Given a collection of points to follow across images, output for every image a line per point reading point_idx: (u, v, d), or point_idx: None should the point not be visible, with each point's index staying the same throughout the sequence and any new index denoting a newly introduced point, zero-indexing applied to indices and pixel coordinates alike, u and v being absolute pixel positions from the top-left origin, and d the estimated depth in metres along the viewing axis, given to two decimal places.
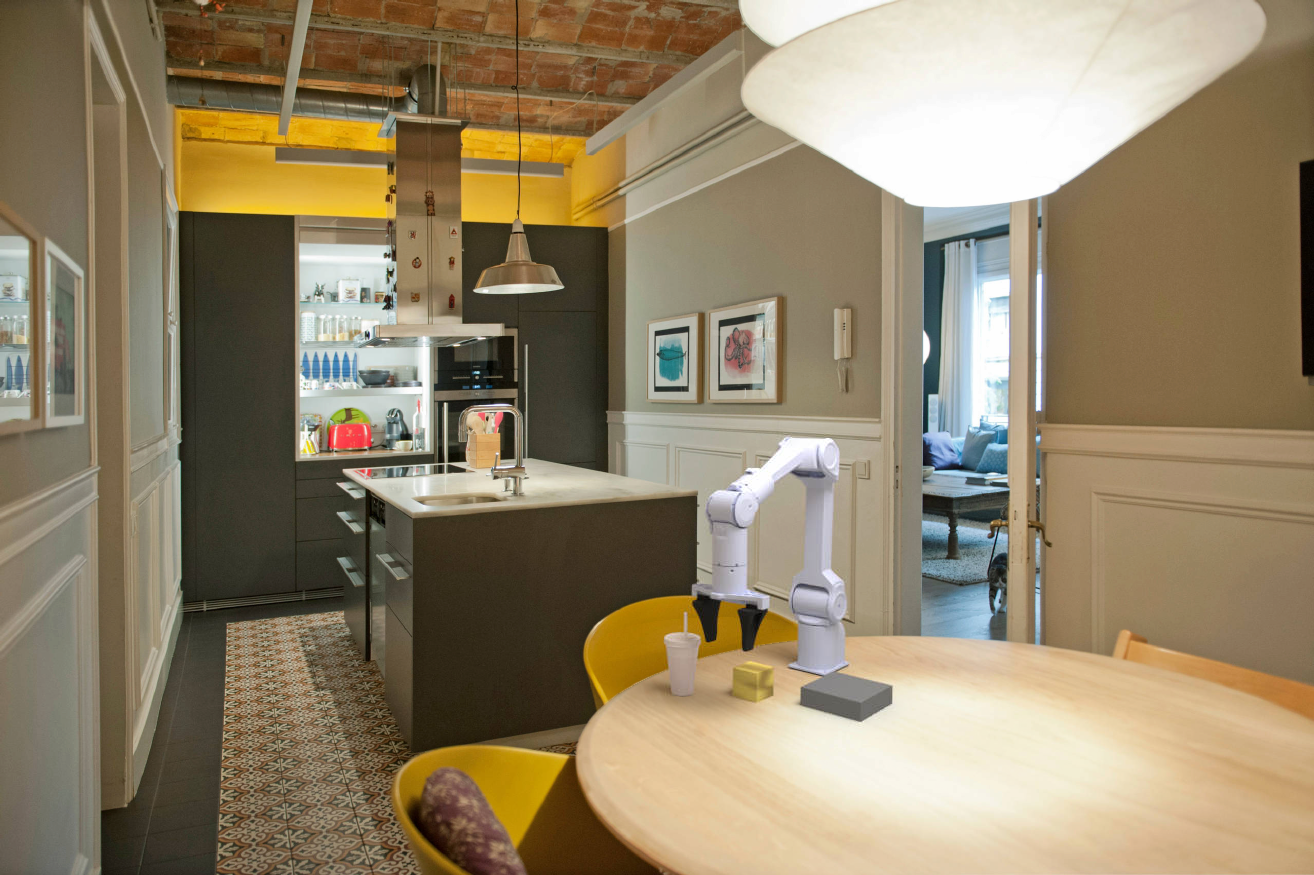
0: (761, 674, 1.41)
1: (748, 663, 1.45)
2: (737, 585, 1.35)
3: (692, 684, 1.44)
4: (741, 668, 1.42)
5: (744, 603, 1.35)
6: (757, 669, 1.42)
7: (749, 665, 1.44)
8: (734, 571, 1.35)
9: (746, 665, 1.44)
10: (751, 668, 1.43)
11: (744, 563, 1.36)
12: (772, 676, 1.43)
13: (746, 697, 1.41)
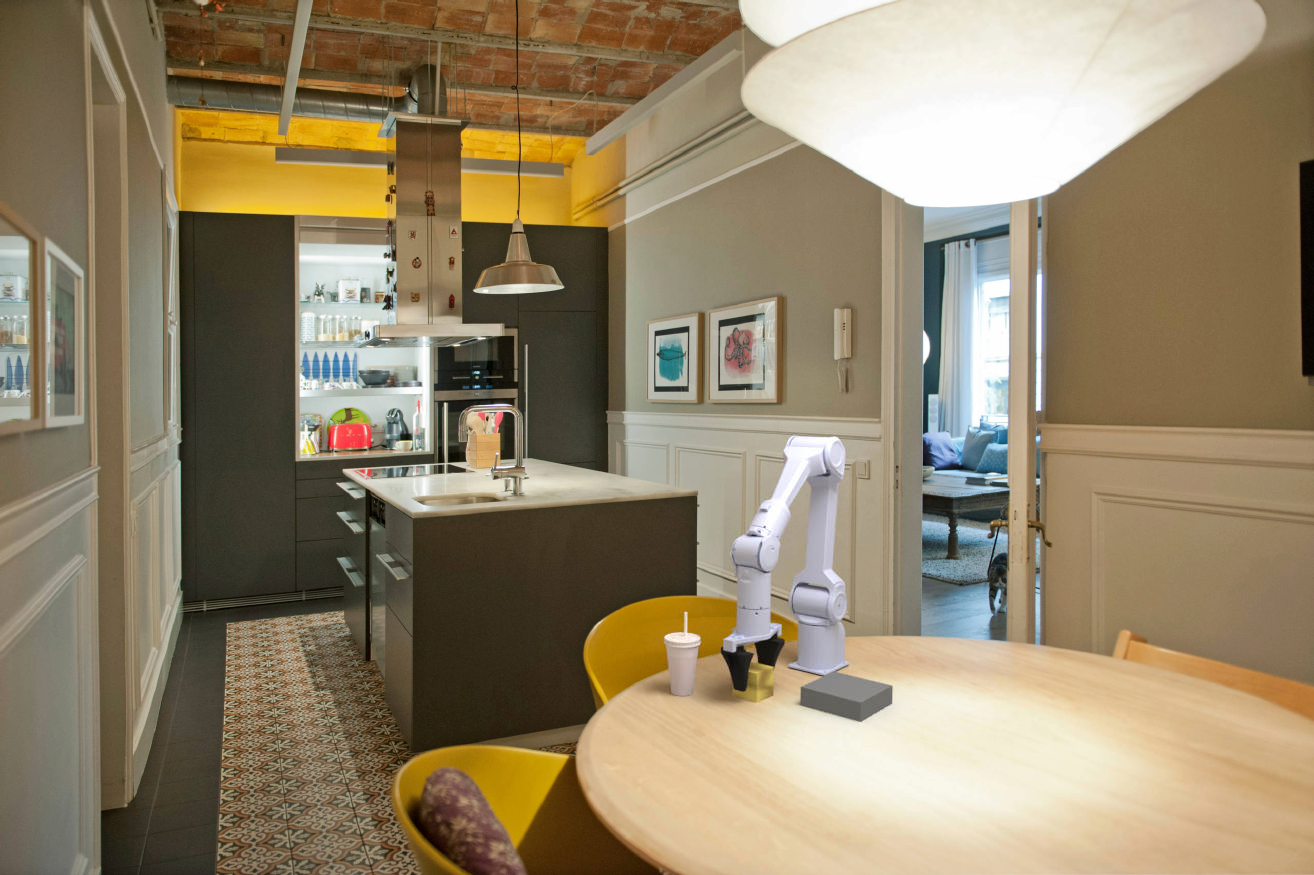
0: (761, 674, 1.41)
1: None
2: (738, 625, 1.42)
3: (692, 684, 1.44)
4: None
5: None
6: (757, 669, 1.42)
7: None
8: (737, 610, 1.42)
9: None
10: (751, 668, 1.43)
11: (768, 606, 1.41)
12: (772, 676, 1.43)
13: (746, 697, 1.41)
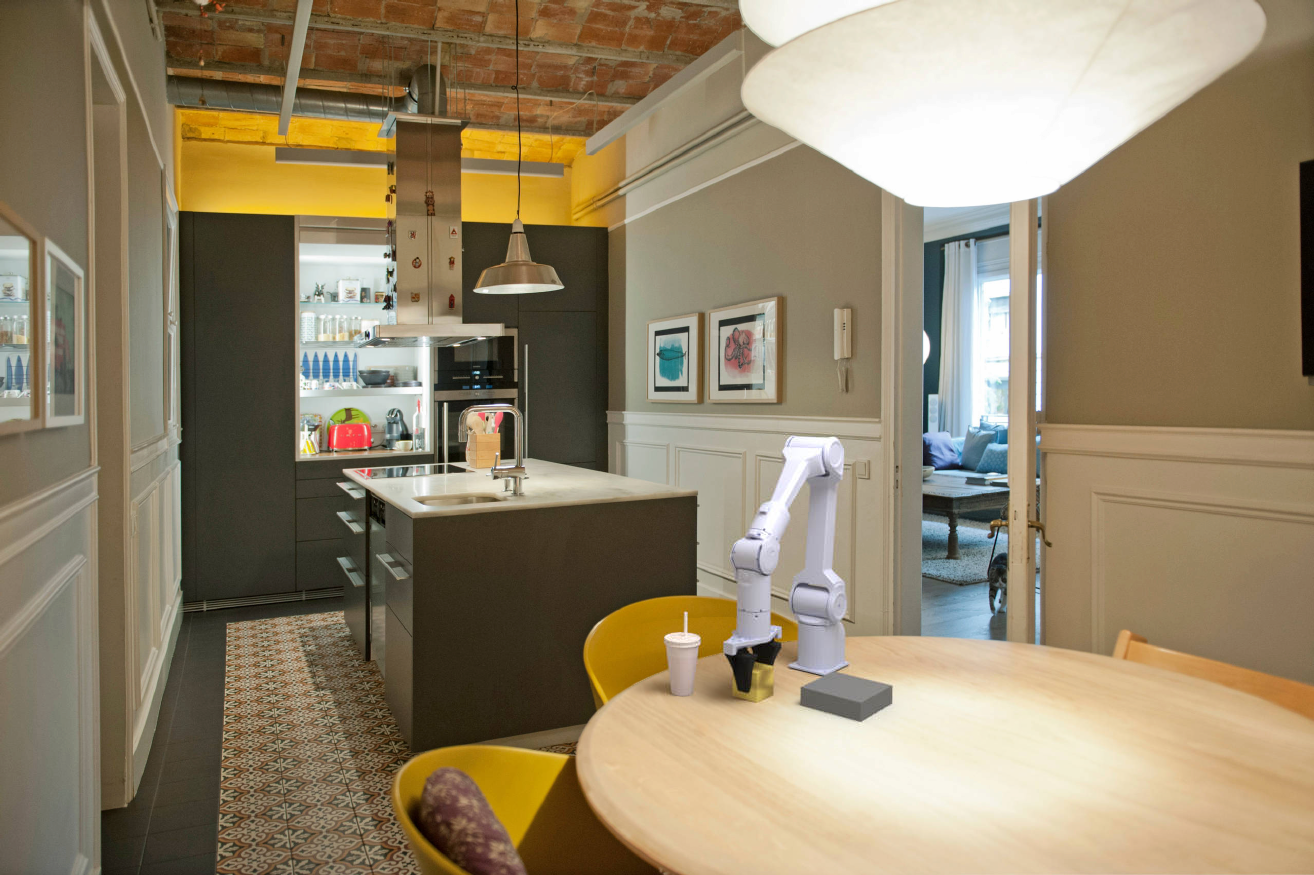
0: (761, 674, 1.41)
1: None
2: (738, 628, 1.42)
3: (692, 684, 1.44)
4: None
5: None
6: (757, 668, 1.42)
7: None
8: (737, 613, 1.42)
9: None
10: None
11: (768, 609, 1.41)
12: (772, 675, 1.43)
13: (746, 696, 1.41)
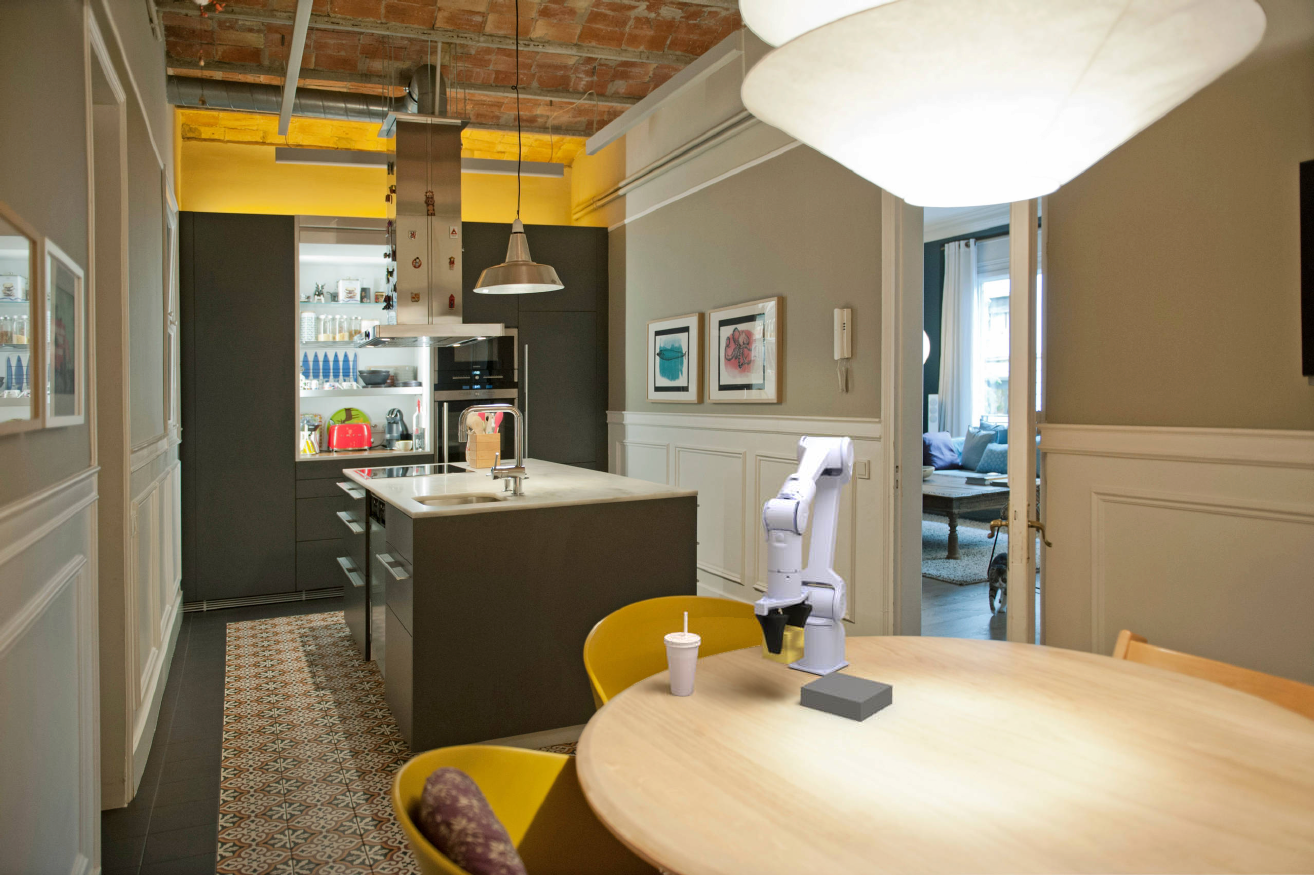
0: (791, 635, 1.39)
1: None
2: (769, 589, 1.40)
3: (692, 684, 1.44)
4: None
5: None
6: (788, 630, 1.41)
7: None
8: (768, 574, 1.41)
9: None
10: None
11: (801, 569, 1.40)
12: (803, 637, 1.42)
13: (777, 658, 1.40)
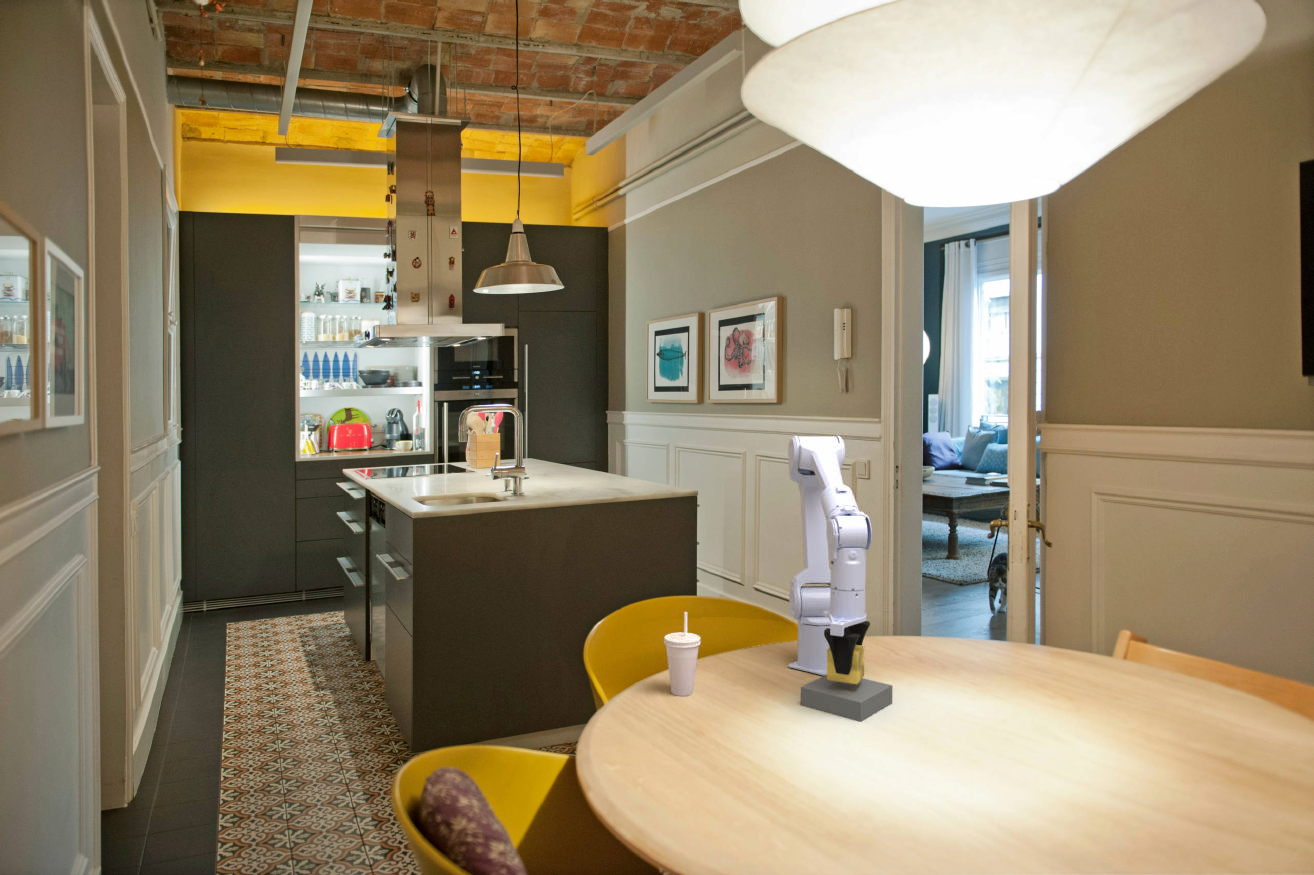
0: (859, 654, 1.37)
1: None
2: (836, 608, 1.37)
3: (692, 684, 1.44)
4: None
5: None
6: None
7: None
8: (834, 593, 1.37)
9: None
10: None
11: None
12: (863, 655, 1.40)
13: (844, 679, 1.37)
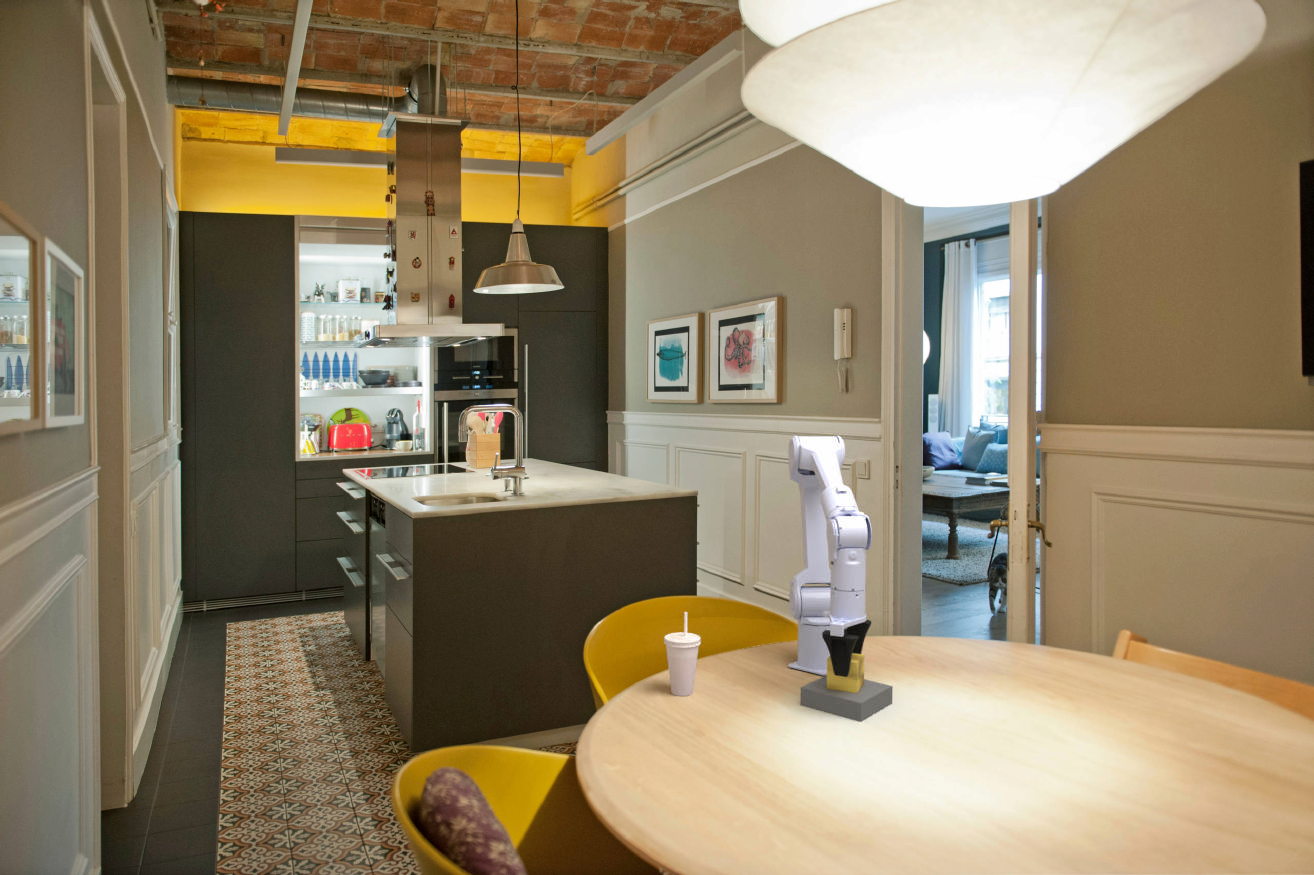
0: (859, 663, 1.37)
1: None
2: (836, 608, 1.37)
3: (692, 684, 1.44)
4: None
5: None
6: (852, 658, 1.38)
7: None
8: (834, 594, 1.37)
9: None
10: None
11: None
12: (863, 664, 1.40)
13: (844, 688, 1.37)
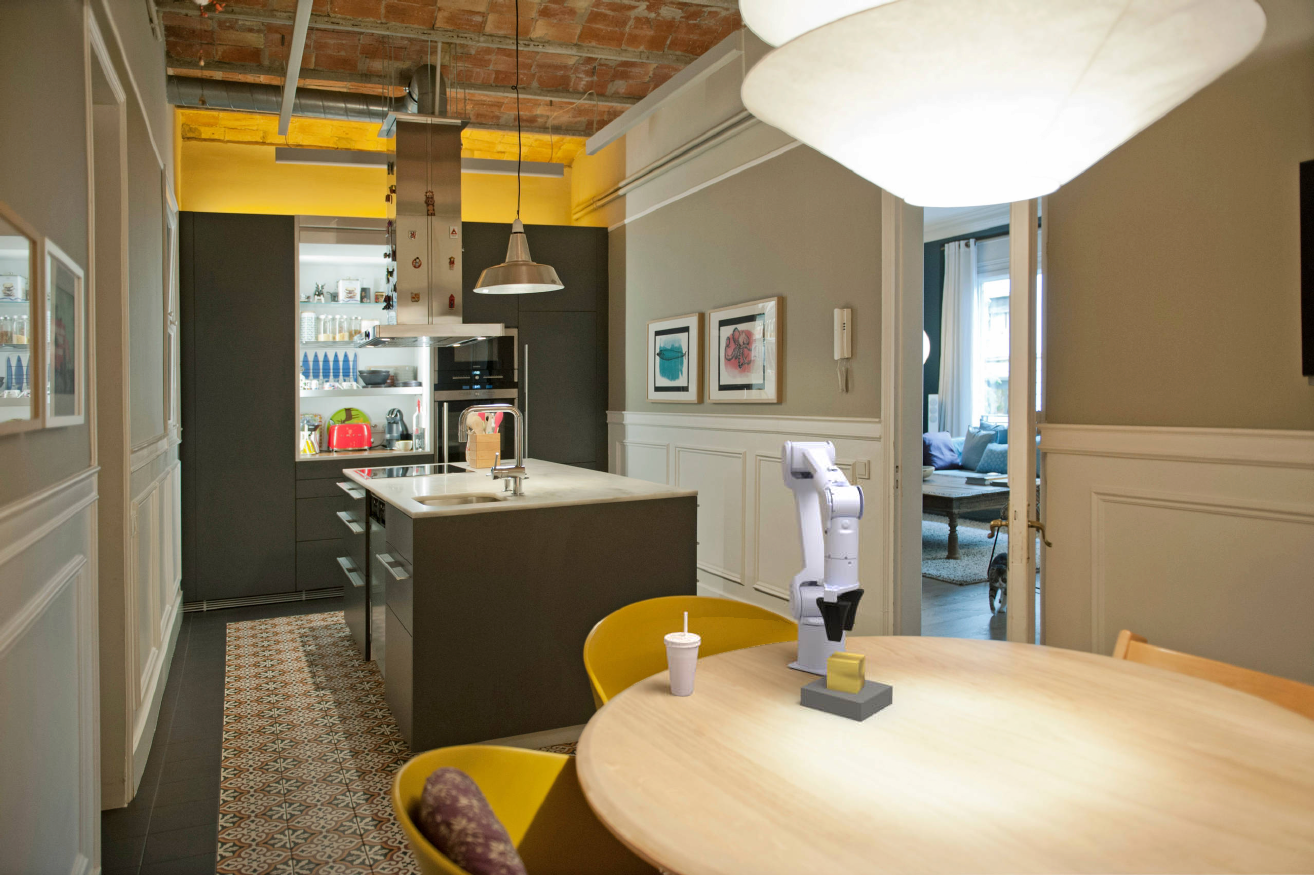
0: (859, 663, 1.37)
1: (837, 654, 1.41)
2: (829, 576, 1.41)
3: (692, 684, 1.44)
4: (836, 659, 1.38)
5: None
6: (852, 658, 1.38)
7: (840, 655, 1.40)
8: (827, 562, 1.41)
9: (837, 656, 1.40)
10: (845, 658, 1.38)
11: None
12: (864, 664, 1.40)
13: (844, 688, 1.37)
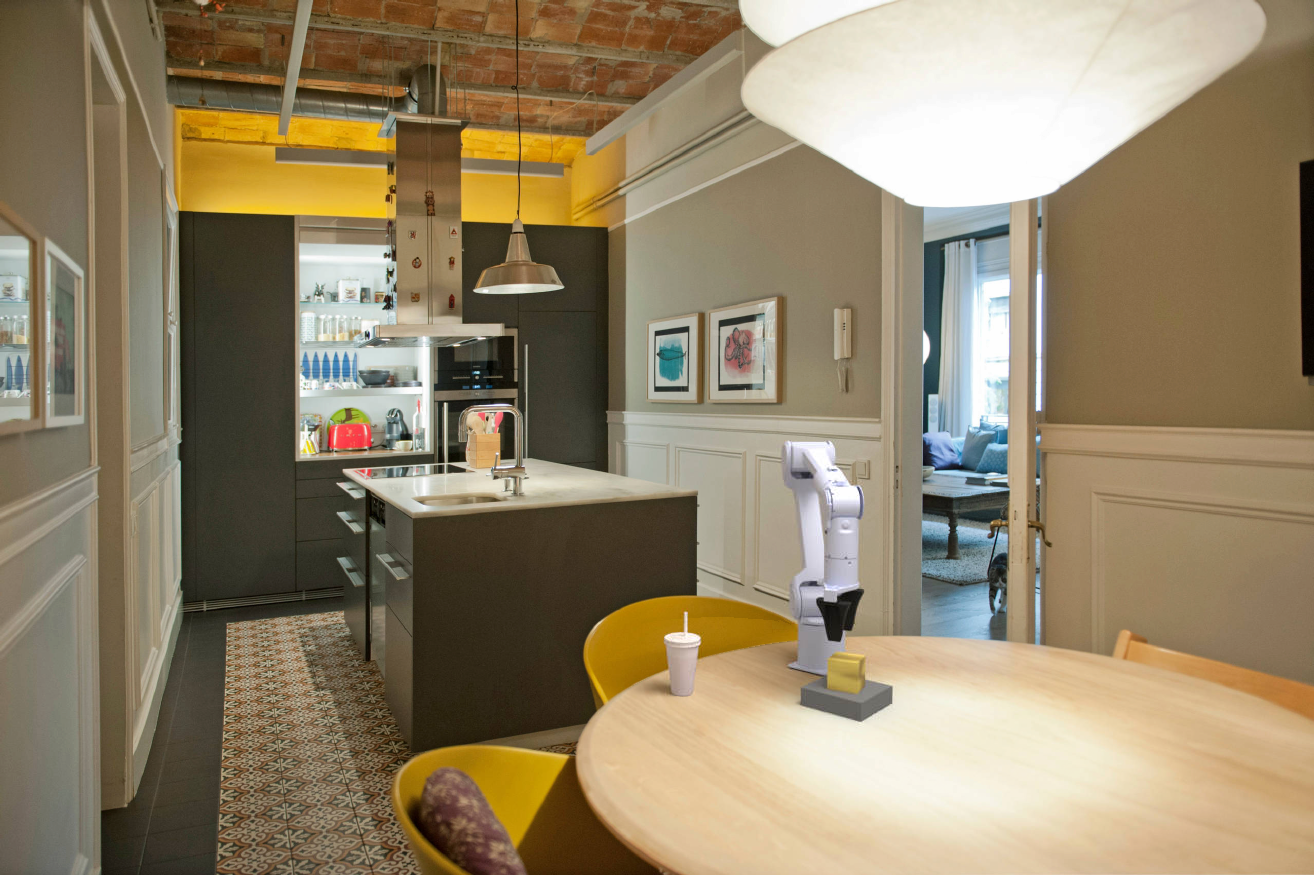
0: (859, 663, 1.37)
1: (837, 654, 1.41)
2: (829, 576, 1.41)
3: (692, 684, 1.44)
4: (836, 659, 1.38)
5: None
6: (853, 658, 1.38)
7: (840, 655, 1.40)
8: (827, 562, 1.41)
9: (838, 656, 1.39)
10: (846, 658, 1.38)
11: None
12: (864, 665, 1.40)
13: (844, 688, 1.37)
